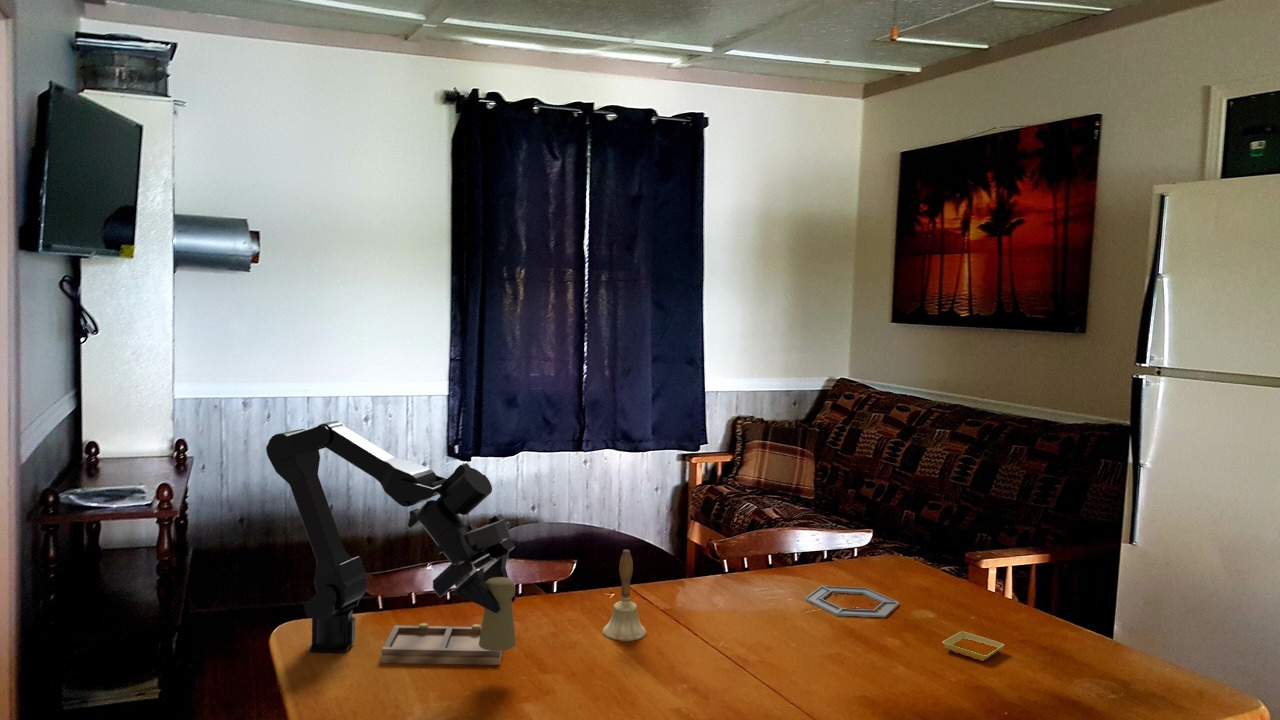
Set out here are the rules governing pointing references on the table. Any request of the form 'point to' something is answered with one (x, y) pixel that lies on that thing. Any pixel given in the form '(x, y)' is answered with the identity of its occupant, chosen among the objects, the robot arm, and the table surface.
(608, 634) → the hand bell
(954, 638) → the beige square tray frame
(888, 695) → the table surface
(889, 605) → the grey hexagonal frame
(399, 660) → the divided tray
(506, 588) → the olive pepper mill
